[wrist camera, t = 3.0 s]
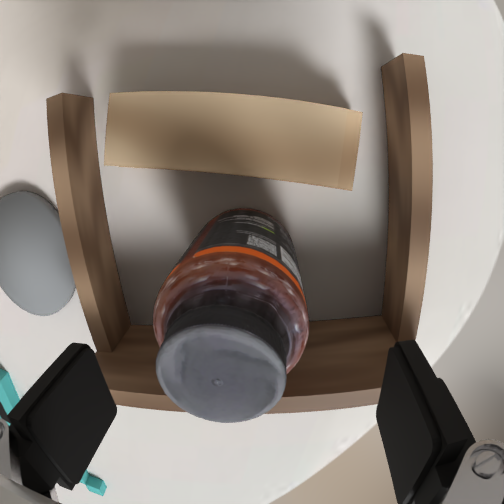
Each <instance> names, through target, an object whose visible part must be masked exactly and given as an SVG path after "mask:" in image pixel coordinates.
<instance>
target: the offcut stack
mask: <svg viewBox="0 0 504 504" xmlns="http://www.w3.org/2000/svg"><path fill="white" fill-rule="evenodd" d="M362 113H363V112H358V111H353V110H349V109H346V108H341V107H336V106H330V105H324V104H319V103H312V102H306V101H299V100H292V99H284V98H276V97H267V96H258V95H247V94H234V93H219V92H195V91H141V92H119V93H110V95H109V104H108V114H107V125H106V138H105V156H104V166H119V167H135V168H154V169H169V170H183V171H196V172H208V173H219V174H229V175H239V176H248V177H257V178H265V179H274V180H282V181H289V182H297V183H304V184H311V185H318V186H324V187H331V188H337V189H343V190H349V191H352V187H353V181H354V174H355V167H356V161H357V153H358V146H359V138H360V130H361V122H362Z"/></svg>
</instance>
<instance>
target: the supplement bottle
mask: <svg viewBox="0 0 504 504" xmlns="http://www.w3.org/2000/svg"><path fill="white" fill-rule="evenodd" d="M153 328H154V332H155V337H156V339H157V342H158V344H159V347H160V349H159V351H158V354H157V357H156V374H157V378H158V381H159V383H160V385H161V387H162V389H163V390H164V392H165V394H166V395H167V396H168V397H169V398H170V399H171V400H172V401H173V402H174V403H175V404H176V405H177V406H178V407H180V408H181V409H183V410H185V411H186V412H188V413H190V414H192V415H194V416H197V417H199V418H203V419H205V420H209V421H215V422H221V423H233V422H242V421H247V420H250V419H253V418H257V417H259V416H261V415H262V414H264V413H266V412H268V411H269V410H271V409H272V408H273V407H274V406H275V405H276V404H277V403H278V401H279V400H280V399H281V397H282V395H283V393H284V390H285V386H286V378H287V373H289V371H290V370H291V369H292V368H293V367H294V366H295V365H296V363H297V362H298V361H299V359H300V357H301V355H302V353H303V351H304V349H305V346H306V343H307V340H308V334H309V316H308V310H307V306H306V300H305V295H304V291H303V286H302V282H301V277H300V272H299V268H298V263H297V259H296V253H295V250H294V247H293V244H292V240H291V238H290V236H289V234H288V233H287V231H286V230H285V228H284V227H283V226H282V225H281V223H280V222H278V221H277V220H276V219H274V218H273V217H272V216H270V215H268V214H266V213H264V212H261V211H258V210H254V209H248V208H246V209H245V208H239V209H233V210H230V211H226V212H224V213H222V214H220V215H218V216H216V217H215V218H213V219H212V220H211V221H210V222H209V223H208V224H207V225H205V227H204V228H203V229H202V230H201V232H200V233H199V234H198V236H197V237H196V238H195V240H194V241H193V242H192V244H191V245H190V247H189V248H188V249H187V251H186V252H185V253H184V255H183V256H182V257H181V259H180V260H179V262H178V263H177V264H176V266H175V267H174V268H173V270H172V271H171V273H170V274H169V276H168V277H167V279H166V280H165V282H164V283H163V285H162V287H161V288H160V291H159V293H158V296H157V299H156V302H155V305H154V312H153Z"/></svg>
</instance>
